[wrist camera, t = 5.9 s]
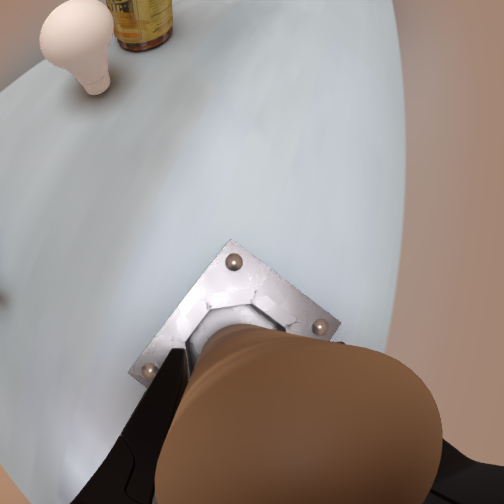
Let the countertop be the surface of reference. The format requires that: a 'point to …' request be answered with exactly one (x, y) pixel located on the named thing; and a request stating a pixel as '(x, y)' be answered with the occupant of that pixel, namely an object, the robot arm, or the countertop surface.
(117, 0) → the sauce bottle
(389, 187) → the countertop surface
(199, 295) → the bracket
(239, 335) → the brown round cylinder
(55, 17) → the lightbulb
